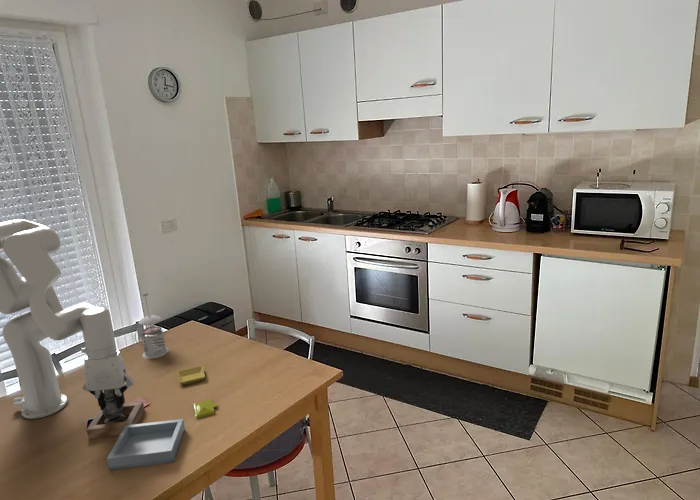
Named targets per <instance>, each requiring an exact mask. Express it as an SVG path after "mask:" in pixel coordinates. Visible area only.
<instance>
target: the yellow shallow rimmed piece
mask: <svg viewBox="0 0 700 500" xmlns="http://www.w3.org/2000/svg"><path fill="white" fill-rule="evenodd" d="M205 378H206V374H205V369H204V366H203V365H200V366H196V367H191V368H187V369H182V370H178V371H177V379H178V380H177V381H178V383H179V384H180V385H182V386H184V385H189V384H194V383H197V382H202V381H203V380H204V379H205Z"/></svg>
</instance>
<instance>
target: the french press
mask: <svg viewBox="0 0 700 500" xmlns="http://www.w3.org/2000/svg"><path fill="white" fill-rule="evenodd" d="M148 295H149V294H148V292H145V291H144V292H143V293H142V297H145V302H146V308H147V310H149V306H148V302H147V296H148ZM147 314H148V315H146V316H144V317H142V318H141V319H139V321H138V324H139V325H140V326H148V327H146V328H144V327H138V328H137V329H136V330H135V333H134V340H135V342H136V344H137V345H139V346H142V347H143V351H144V352H143V353H142V355H141V357H142V358H144V359H148V360H149V359H150V360H152V359H157V358H161V357H164V356H165V355H167V354H168V353H169V351H170V350H169V348H168V347H166V343H165V337H164V331H163V330H162V327H161V326H157V325H155V324H157V323H158V322H160V321H161V320H162V319H161V316H158V315H155V314H154V315H150V312H149V311H147ZM152 325H155V326H152ZM139 329H140V330H139ZM138 330H139V331H138ZM137 332H138V334H137ZM140 332H141V339H142V344H141V342H140V339H139V336H140V335H139V334H140ZM136 336H137V337H136Z"/></svg>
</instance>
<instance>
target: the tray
mask: <svg viewBox="0 0 700 500" xmlns="http://www.w3.org/2000/svg"><path fill="white" fill-rule="evenodd" d="M185 430H186V427H185V421H184V418H179V419H172V420H171V419H170V420H169V419H168V420H163V421H161V420H160V421H155V422H154V421H153V422H145V423H137V424H135V425H126V426H125V427H124V429H123V431H122V432H121V434H120V435H118V436H119V437H118V438H117V439H116V442H114V443H115V444H114V445H113V447H112V449H111V450H110V452H109V454H108V456H107V457H106V461H107V465H108V469H109V470H108V471H113V470H114V471H115V470H123V469H129V468H130V469H131V468H138V467H145V466H156V465H161V464H169V463H170V464H171V463H174V462H175V460H176V456H177V453H178V451H179V447H180V445H181V442H182V440H183V436H184V434H185Z"/></svg>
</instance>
